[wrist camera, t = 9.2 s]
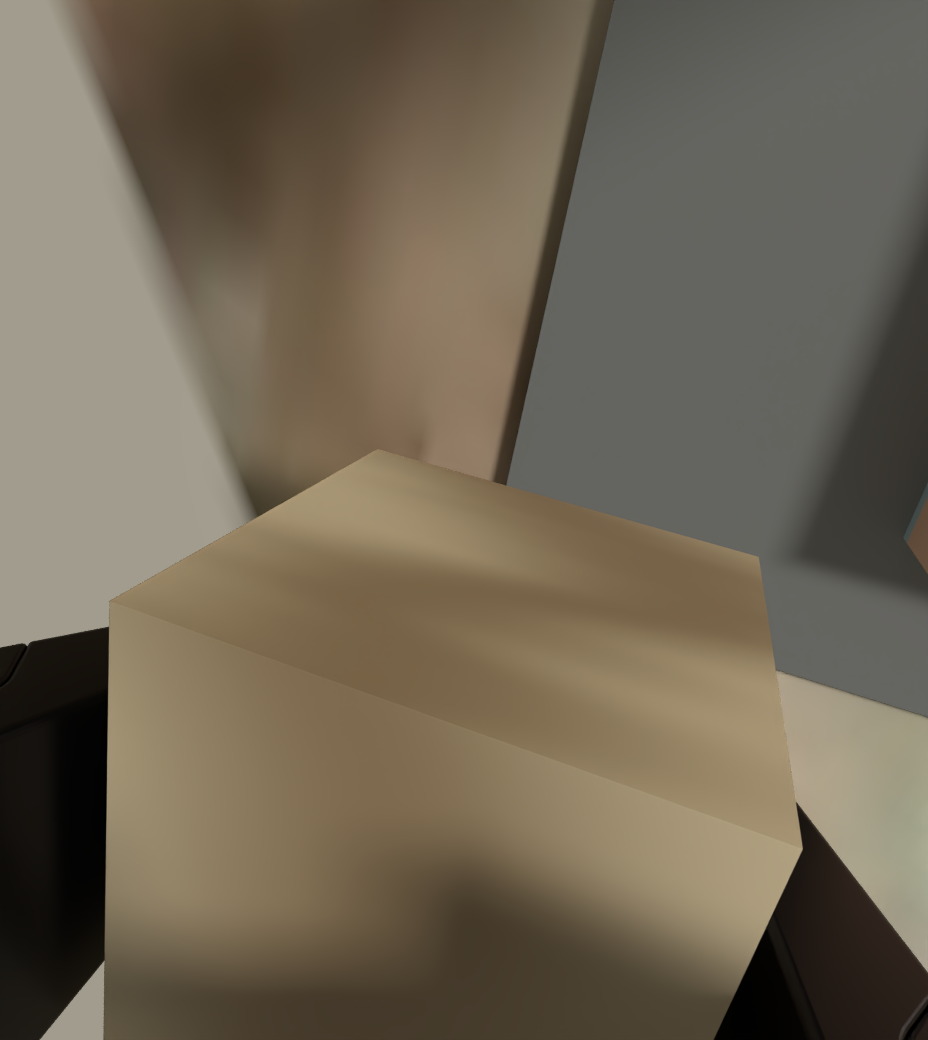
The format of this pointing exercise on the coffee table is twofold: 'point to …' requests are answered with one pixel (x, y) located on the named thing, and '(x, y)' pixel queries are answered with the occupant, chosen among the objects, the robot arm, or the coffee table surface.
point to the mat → (755, 314)
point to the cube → (441, 773)
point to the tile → (919, 531)
